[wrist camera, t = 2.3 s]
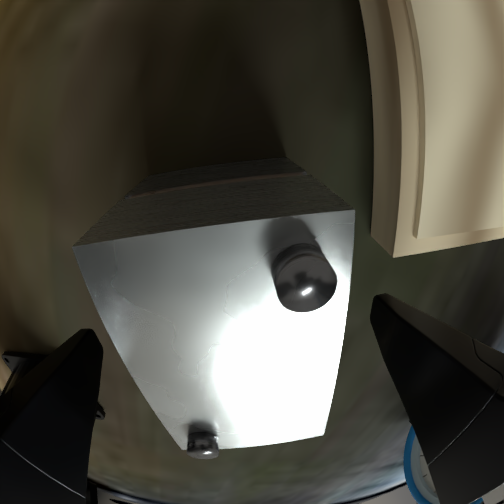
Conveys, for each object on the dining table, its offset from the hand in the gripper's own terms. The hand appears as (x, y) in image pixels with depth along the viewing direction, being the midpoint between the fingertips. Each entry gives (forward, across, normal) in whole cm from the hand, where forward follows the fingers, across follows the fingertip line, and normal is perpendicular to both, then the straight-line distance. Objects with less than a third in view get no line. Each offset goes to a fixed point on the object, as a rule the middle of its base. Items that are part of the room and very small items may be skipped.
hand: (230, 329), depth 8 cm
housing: (+4, 0, 0) cm, 4 cm away
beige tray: (+4, -11, -7) cm, 14 cm away
